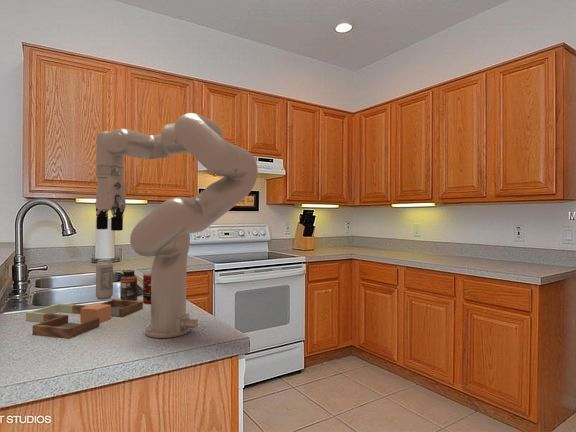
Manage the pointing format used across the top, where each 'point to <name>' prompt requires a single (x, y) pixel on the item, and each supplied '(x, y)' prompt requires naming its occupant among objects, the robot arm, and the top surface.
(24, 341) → the top surface
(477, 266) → the top surface
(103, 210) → the robot arm
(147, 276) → the canned food
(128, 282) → the supplement bottle
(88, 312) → the block
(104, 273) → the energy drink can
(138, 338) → the top surface
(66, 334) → the box
